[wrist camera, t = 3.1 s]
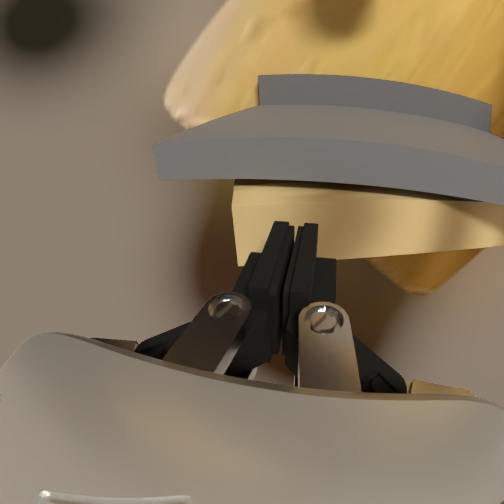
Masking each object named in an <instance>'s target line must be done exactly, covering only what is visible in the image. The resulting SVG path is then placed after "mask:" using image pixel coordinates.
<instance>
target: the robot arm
mask: <svg viewBox="0 0 504 504" xmlns="http://www.w3.org/2000/svg"><path fill="white" fill-rule="evenodd" d="M294 238H295V227H294V226H292V225H290V224H289V222H287V221H274V223H273V226H272V228H271V231H270V233H269V236H268V238H267V241H266V243H265V246H264V248H263V251H262V253H260V252H251V253H250V254H249V257H248V259H247V261H246V263H245V265H244V267H243V270H242V272H241V274H240V276H239V278H238V280H237V283H236V285H235V287H234V289H233V291H232V292H224V293H220V294H217V295H215V296H213V297H211V298H210V299H209V300H208V301H207V302H206V303H205V304H204V306H203V307H202V308H201V310H200V311H199V312H198V313H197V315H196V316H195V317H194V319H193V320H192V321H191V322H189V323H186V324H184V325H181V326H179V327H176V328H174V329H171V330H169V331H167V332H164V333H162V334H159V335H157V336H154V337H152V338H149V339H147V340H145V341H143V342H141V343H140V344H138V342H137V341H131V340H115V339H104V338H87V337H84V336H79V335H75V334H70V333H61V332H48V333H47V332H46V333H41V334H36V335H33V336H31V337H30V338H28V339H27V340H26V341H24V342H23V343H22V344H21V345H20V346H19V348H17V350H16V351H15V352H14V353H13V354H12V355H11V357H10V358H9V359H8V360H7V362H6V363H5V364H4V365H3V367H2V368H1V370H0V504H504V407H503V406H501V405H499V404H497V403H495V402H492V401H489V400H486V399H483V398H479V397H475V396H474V395H473V394H472V393H471V392H469V391H467V390H464V389H460V388H454V387H448V386H443V385H437V384H433V383H427V382H423V381H418V380H413V381H412V382H411V383H410V382H406V381H404V379H403V378H402V377H401V375H400V374H399V373H397V372H396V371H395V370H394V369H393V368H392V367H390V366H389V365H388V364H387V363H386V362H384V361H383V360H382V359H381V358H380V357H379V356H377V355H376V354H375V353H373V351H371V350H370V349H369V348H368V347H367V346H365V345H364V344H363V343H362V342H361V341H360V340H358V339H357V338H356V337H355V336H354V335H352V332H351V326H350V321H349V317H348V315H347V313H346V312H345V310H343V308H341V307H340V306H338V305H336V304H335V297H336V295H335V294H336V259H334V258H322V257H317V243H318V224H317V223H304V226H298V230H297V234H296V239H295V243H294ZM282 336H283V339H282ZM281 340H282V355H283V356H285V365H286V366H287V367H288V368H289V370H290V371H291V372H292V373H293V374H294V386H287V385H279V384H273V383H266V382H260V381H254V380H253V379H254V377H255V375H256V372H257V367H258V366H260V365H261V364H263V363H265V362H269V363H270V362H271V358H272V355H273V354H275V355H278V353H279V348H280V345H281Z"/></svg>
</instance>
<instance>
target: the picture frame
mask: <svg viewBox="0 0 504 504" xmlns="http://www.w3.org/2000/svg"><path fill="white" fill-rule="evenodd" d="M232 214H233V224H234V234H235V242H236V251H237V260H238V266H244V265H245V263H246V261H247V259H248V257H249V254H250V253H251V252H260V253H262V251H263V248H264V246H265V243H266V241H267V238H268V236H269V233H270V231H271V228H272V226H273V223H274V221H287V222H289V224H290V225H292V226H294V227H295V238H294V243H295V239H296V234H297V230H298V226H304V223H317V224H318V243H317V257H322V258H334V259H336V260H341V259H354V258H367V257H380V256H393V255H405V254H418V253H429V252H441V251H452V250H464V249H474V248H485V247H494V246H504V206H503V205H498V204H493V203H488V202H483V201H478V200H472V199H467V198H461V197H455V196H449V195H442V194H436V193H429V192H421V191H414V190H406V189H397V188H389V187H379V186H369V185H358V184H346V183H333V182H317V181H298V180H272V179H235V184H234V192H233V199H232Z"/></svg>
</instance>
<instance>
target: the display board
mask: <svg viewBox="0 0 504 504" xmlns="http://www.w3.org/2000/svg"><path fill="white" fill-rule="evenodd" d="M258 85H259V100H260V105H258V106H254V107H251V108H248V109H245V110H241V111H238V112H235V113H232V114H229V115H226V116H223V117H220V118H217V119H215V120H212V121H209V122H206V123H204V124H201V125H198V126H196V127H193V128H190V129H188V130H185V131H183V132H180V133H178V134H176V135H173V136H171V137H168V138H166V139H164V140H161V141H159V142H157V143H154V144H153V149H154V155H155V160H156V166H157V172H158V177H159V180H180V179H272V180H298V181H317V182H333V183H346V184H358V185H369V186H379V187H389V188H397V189H406V190H414V191H421V192H429V193H436V194H442V195H449V196H455V197H461V198H467V199H472V200H478V201H483V202H488V203H493V204H498V205H503V206H504V138H501V137H499V136H497V135H495V134H492V133H490V124H491V108H492V105H490V104H487V103H484V102H481V101H478V100H475V99H472V98H468V97H465V96H461V95H458V94H454V93H450V92H446V91H442V90H437V89H433V88H428V87H424V86H419V85H413V84H408V83H402V82H395V81H389V80H381V79H373V78H364V77H353V76H339V75H315V74H283V75H259V76H258Z"/></svg>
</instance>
